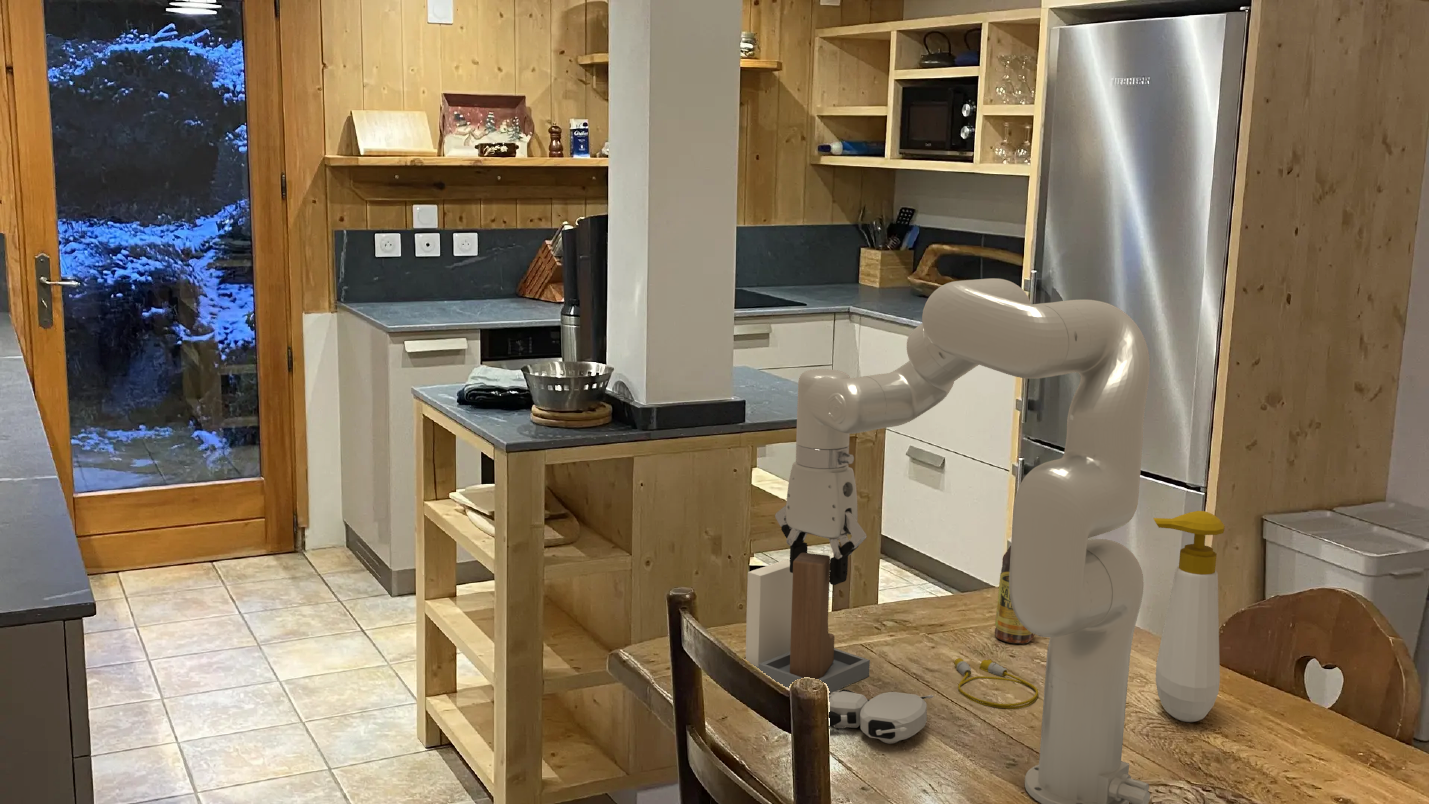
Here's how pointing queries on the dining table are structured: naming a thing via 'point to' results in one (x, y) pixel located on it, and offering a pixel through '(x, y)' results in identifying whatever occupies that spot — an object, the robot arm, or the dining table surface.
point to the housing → (786, 631)
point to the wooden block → (810, 617)
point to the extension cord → (994, 669)
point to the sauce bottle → (1008, 610)
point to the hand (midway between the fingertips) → (817, 575)
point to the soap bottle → (1191, 624)
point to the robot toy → (879, 714)
